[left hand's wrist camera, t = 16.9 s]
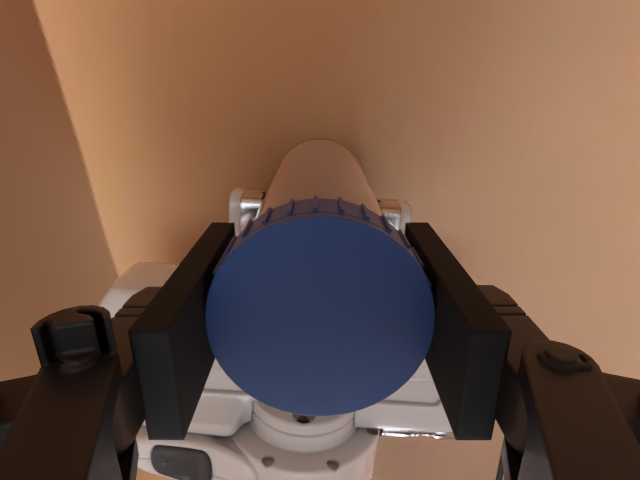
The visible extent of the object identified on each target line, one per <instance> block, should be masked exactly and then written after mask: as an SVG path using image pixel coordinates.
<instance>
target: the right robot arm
mask: <svg viewBox="0 0 640 480" xmlns="http://www.w3.org/2000/svg"><path fill="white" fill-rule="evenodd" d="M265 195H266V190H259V189H249V188H234V189H233V191H232V192H231V194H230V199H229V223H234V224H235V235H236V236H237V237H238V235H239V234H240V233H241V232H242V230H243V229H244V228H245V226H246V224H247V222H248V221H249V220H250V219H251V220H252V221H253V219H254V217H255V215H256V213H257V211H258V209H259V207H260V205H261V203H262V201H263V199H264V197H265ZM377 201H378V203H379V205H380V207H381V209H382V211H383V213H384V215H385V216H386V218H387V220H388V222H389V223H390V224H391V225H392V226H394V227H395V228H396V229H397V231H398V230H400V229H401V230H402V232H403V233H404V235H405V223H411V218H412V208H411V206H410V204H409V203H408V202H407V200H394V199H378V198H377ZM178 266H179V265H178V264H164V263H151V262H140V263H137V264H135V265H133V266H132V267H131V268H130V269H128V270H127V271H126V272H125V273H124V274H123V275H121V276H120V277H119V278H118V279H117V280H116V281H115V282H114V283H113V284H112V285H111V286H110V288H109V289H108V290H107V291H106V293H105V294H104V296H103V297H102V299H101V301H100V303H99V306H100V307H104V308H105V309H107V310H108V311H110V315H111V318H112V317H114V315H115V314H116V313H117V312H118V310H119V309H120V308H122V306H123V305H124V304H125V303H126V301H127V300H128V299H129V298H130V297H131V296H132V295H134V294H135V293H137V292H139V291H141V290H142V289H144V288H146V287H162V286H163V285H164V284H165V282H166V281H167V280H168V279H169V277H170V276H171V275H172V273H173V272H174V271H175V270H176V268H177V267H178ZM380 435H381V436H395V437H415V436H426V437H432V438H435V439H452V438H455V437H454V434H453V431H452V429H451V426H450V424H449V421H448V418H447V416H446V413H445V410H444V408H443V405H442V403H441V400H440V397H439V395H438V392H437V390H436V387H435V384H434V382H433V379H432V376H431V374H430V371H429V369H428V366H427V363H426V361H425V358H424V361H423V362H422V364H421V365H420V367H419V368H418V370H417V371H416V372H415V374H414V375H413V376H412V377H411V378H410V379H409V380H408V382H406V383H405V384H404V385H403V386H402V387H401V388H400V389H399V390H397V391H396V392H395V393H393V394H392V395H390V396H389V397H387V398H386V399H384V400H382V401H380V402H378V403H376V404H374V405H372V406H369V407H367V408H364V409H362V410H358V411H355V412H351V413H347V414H341V415H334V416H306V415H299V414H293V413H289V412H285V411H281V410H279V409H276V408H273V407H270V406H268V405H266V404H264V403H262V402H260V401H258V400H256V399H255V398H253V397H251V396H250V395H248V394H247V393H245V392H244V391H243V390H242V389H240V388H239V387H238V386H237V385H236V384H235V383H234V382H233V381H232V380H231V379H230V378H229V377H228V376H227V375H226V373H225V372H224V371H223V369H222V368H221V367H220V365H219V364H218V362H217V360H216V358H215V360H214V363H213V366H212V368H211V371H210V374H209V376H208V379H207V381H206V384H205V387H204V389H203V392H202V395H201V397H200V400H199V402H198V405H197V408H196V410H195V413H194V415H193V418H192V421H191V423H190V426H189V429H188V431H187V434H186V436H185V439H184V440H149V439H148V434H147V429H146V423H145V420H144V422H143V424H142V426H141V428H140V430H139V432H138V434H137V436H136V441H137V446H138V452H139V458H138V466H137V467H138V468H140V469H142V470H144V471H147V472H150V473H153V474H156V475H160V476H163V477H167V478H170V479H173V480H372V475H373V469H374V463H375V456H376V451H377V445H378V439H379V436H380Z"/></svg>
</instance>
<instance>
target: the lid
mask: <svg viewBox="0 0 640 480" xmlns="http://www.w3.org/2000/svg"><path fill="white" fill-rule="evenodd" d="M423 267H424V265H423V263H422V261H421V259H420V258H419V256H418V254H417V252H416V251H415V249H414V247H411V246H410V244H409V242H408V240H407V239H406V237H405V235H404V233H403V232H402V230H401V229H400V230H398V231H397V229H396V228H395V227H394V226H392V225H391V224H390V223H389V222H388V220H387V218H386V216H385V215H383V214H382V216H379V215H378V214H376V213H375V212H373V211H371V210H369V209H367V208H366V205H365V204H361V206H360V205H357V204H354V203H350V202H347V201H343V200H342V197H338V200H336V199H326V198H318V196H314V199H303V200H298V201H294V199H290V200H289V203H286V204H283V205H281V206H278V207H275V208H273V209H272V208H271V207H269V208H267V210H266V213H264V214H262V215H261V216H259V217H258V218H256V219H255V220H254V221H252V220H251V219H250V220H249V221H248V222H247V224H246V226H245V228H244V229H243V230H242V232H241V233H240V234H239V235H238V237H237V236H236V235H234V237H233V238H232V240H231V242H230V243H229V245H228V247H227V249H226V250H225V252H224V254H223V255H222V257H221V259H220V261H219V262H218V264H217V266H216V268H215V269H214V271H213V273H212V274H213V275H215V276H214V278H213V280H212V283H211V285H210V287H209V290H208V292H207V294H208V295H207V299H206V305H205V325H206V333H207V337H208V342H209V344H210V347H211V350H212V352H213V354H214V356H215V358H216V360H217V362H218V364H219V365H220V367H221V368H222V369H223V371H224V372H225V373H226V375H227V376H228V377H229V378H230V379H231V380H232V381H233V382H234V383H235V384H236V385H237V386H238V387H239V388H240V389H242V390H243V391H244V392H245V393H247V394H248V395H250V396H251V397H253V398H255V399H256V400H258V401H260V402H262V403H264V404H266V405H268V406H270V407H273V408H276V409H279V410H281V411H285V412H289V413H293V414H299V415H306V416H334V415H341V414H347V413H351V412H355V411H358V410H362V409H364V408H367V407H369V406H372V405H374V404H376V403H378V402H380V401H382V400H384V399H386V398H387V397H389V396H390V395H392V394H393V393H395V392H396V391H397V390H399V389H400V388H401V387H402V386H403V385H404V384H405V383H406V382H408V380H409V379H410V378H411V377H412V376H413V375H414V374H415V372H416V371H417V370H418V368H419V367H420V365H421V364H422V362H423V361H424V358H425V356H426V354H427V352H428V350H429V348H430V345H431V341H432V338H433V332H434V324H435V304H434V297H433V294H432V290H431V288H432V285H431V283H430V281H429V279H428V278H427V276H426V274H425V272H424V270H423V269H422V268H423Z"/></svg>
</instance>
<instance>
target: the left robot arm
mask: <svg viewBox="0 0 640 480" xmlns="http://www.w3.org/2000/svg"><path fill="white" fill-rule="evenodd" d="M234 235H235V224H234V223H211V225H210V226H209V227H208V229H207V230H206V231H205V232H204V234H203V235H202V236H201V238H200V239H199V240H198V241H197V243H196V244H195V245H194V247H193V248H192V249H191V250H190V252H189V253H188V254H187V256H186V257H185V258H184V259H183V261H182V262H181V263H180V264H179V266H178V267H177V268H176V270H175V271H174V272H173V273H172V275H171V276H170V277H169V279H168V280H167V281H166V282H165V284H164V285H163V286H162V287H146V288H144V289H142V290H141V291H139V292H137V293H135V294H134V295H132V296H131V297H130V298H129V299H128V300H127V301H126V303H125V304H124V305H123V306H122V308H120V309H119V310H118V312H117V313H116V314H115V315H114V317H112V318H111V315H110V311H108V310H107V309H105V308H104V307H100V306H94V305H89V306H77V307H73V308H67V309H64V310H61V311H58V312H56V313H53V314H50V315H48V316H46V317H45V318H43V319H41V320H39V321H38V322H37V323H36V324H35V325H34V326H33V327H32V328H31V333H32V336H33V340H34V343H35V347H36V350H37V354H38V357H39V360H40V364H41V368H40V370H39V372H38V374H36V375H32V376H28V377H23V378H17V379H12V380H7V381H2V382H0V480H136V474H137V466H138V458H139V452H138V446H137V441H136V436H137V434H138V432H139V430H140V428H141V426H142V424H143V422H144V420H145V423H146V429H147V434H148V439H149V440H184V439H185V436H186V434H187V431H188V429H189V426H190V423H191V421H192V418H193V415H194V413H195V410H196V408H197V405H198V402H199V400H200V397H201V395H202V392H203V389H204V387H205V384H206V381H207V379H208V376H209V374H210V371H211V368H212V366H213V363H214V360H215V356H214V354H213V352H212V350H211V347H210V344H209V342H208V337H207V333H206V325H205V305H206V299H207V295H208V294H207V292H208V290H209V287H210V285H211V283H212V280H213V278H214V276H215V275H213V274H212V273H213V271H214V269H215V268H216V266H217V264H218V262H219V261H220V259H221V257H222V255H223V254H224V252H225V250H226V249H227V247H228V245H229V243H230V242H231V240H232V238H233V237H234ZM405 237H406V239H407V240H408V242H409V244H410V246H411V247H414V249H415V251H416V252H417V254H418V256H419V258H420V259H421V261H422V263H423V265H424V267H423V268H422V269H423V270H424V272H425V274H426V276H427V278H428V279H429V281H430V283H431V285H432V288H431V290H432V294H433V297H434V304H435V324H434V332H433V338H432V341H431V345H430V348H429V350H428V352H427V354H426V356H425V361H426V363H427V366H428V369H429V371H430V374H431V376H432V379H433V382H434V384H435V387H436V390H437V392H438V395H439V397H440V400H441V403H442V405H443V408H444V410H445V413H446V416H447V418H448V421H449V424H450V426H451V429H452V431H453V434H454V437H455V439H456V440H491V438H492V433H493V428H494V423H495V418H496V420H497V422H498V424H499V426H500V428H501V430H502V432H503V434H504V441H503V446H502V450H501V455H500V460H499V465H498V470H497V475H496V480H502V477H503V474H504V480H640V380H638V379H632V378H627V377H622V376H617V375H612V374H607V373H603V372H602V371H601V369H600V367H599V366H598V365H597V363H596V362H595V361H594V360H593V359H592V358H591V357H590V356H589V355H587V354H586V353H584V352H583V351H581V350H579V349H577V348H575V347H572V346H570V345H568V344H564V343H560V342H556V341H551V340H549V339H548V338H547V337H546V335H545V334H544V333H543V332H542V331H541V330H540V329H539V328H538V327H537V325H536V324H535V323H534V322H533V321H532V320H531V319H530V318H529V317H528V316H526V313H525V312H524V311H523V310H522V309H521V308H520V307H518V304H517V303H516V302H515V301H514V300H513V299H512V298H511V297H510V295H509V294H507V293H505V292H504V291H502V290H500V289H499V288H497V287H495V286H493V285H476V284H475V283H474V281H473V280H472V279H471V277H470V276H469V275H468V274H467V272H466V271H465V270H464V268H463V267H462V266H461V265H460V263H459V262H458V261H457V259H456V258H455V257H454V256H453V254H452V253H451V252H450V251H449V249H448V248H447V247H446V245H445V244H444V243H443V242H442V240H441V239H440V238H439V236H438V235H437V234H436V233H435V231H434V230H433V229H432V227H431V226H430V225H429V224H428V223H405Z"/></svg>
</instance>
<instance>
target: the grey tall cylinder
mask: <svg viewBox="0 0 640 480" xmlns="http://www.w3.org/2000/svg"><path fill="white" fill-rule="evenodd" d="M314 196H318V198H326V199H336V200H338V197H342V200H343V201H347V202H350V203H354V204H357V205H360V206H361V204H365V205H366V208H367V209H369V210H371V211H373V212H375V213H376V214H378V215H379V216H382V214H383V215H384V213H383V211H382V209H381V207H380V205H379V203H378V201H377V199H376V197H375V195H374V193H373V191H372V189H371V187H370V185H369V183H368V181H367V179H366V177H365V175H364V173H363V170H362V168H361V166H360V164H359V163H358V161H357V159H356V158H355V156H354V155H353V154H352V153H351V152H350V151H349V150H348V149H347V148H346V147H344V146H343V145H341V144H339V143H337V142H334V141H330V140H325V139H315V140H309V141H306V142H303V143H301V144H299V145H297V146H296V147H294V148H293V149H292V150H291V151H290V152H289V153H288V154H287V155H286V156H285V158H284V159H283V161H282V163H281V164H280V166H279V169H278V171H277V173H276V175H275V177H274V179H273V181H272V183H271V185H270V187H269V189H268V191H267V193H266V195H265V197H264V199H263V201H262V203H261V205H260V207H259V209H258V211H257V213H256V215H255V217H254V219H253V221H254V220H255V219H256V218H258V217H259V216H261V215H262V214H264V213H266V210H267V208H269V207H271V208H272V209H273V208H275V207H278V206H281V205H283V204H286V203H289V200H290V199H294V201H298V200H303V199H314Z"/></svg>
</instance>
